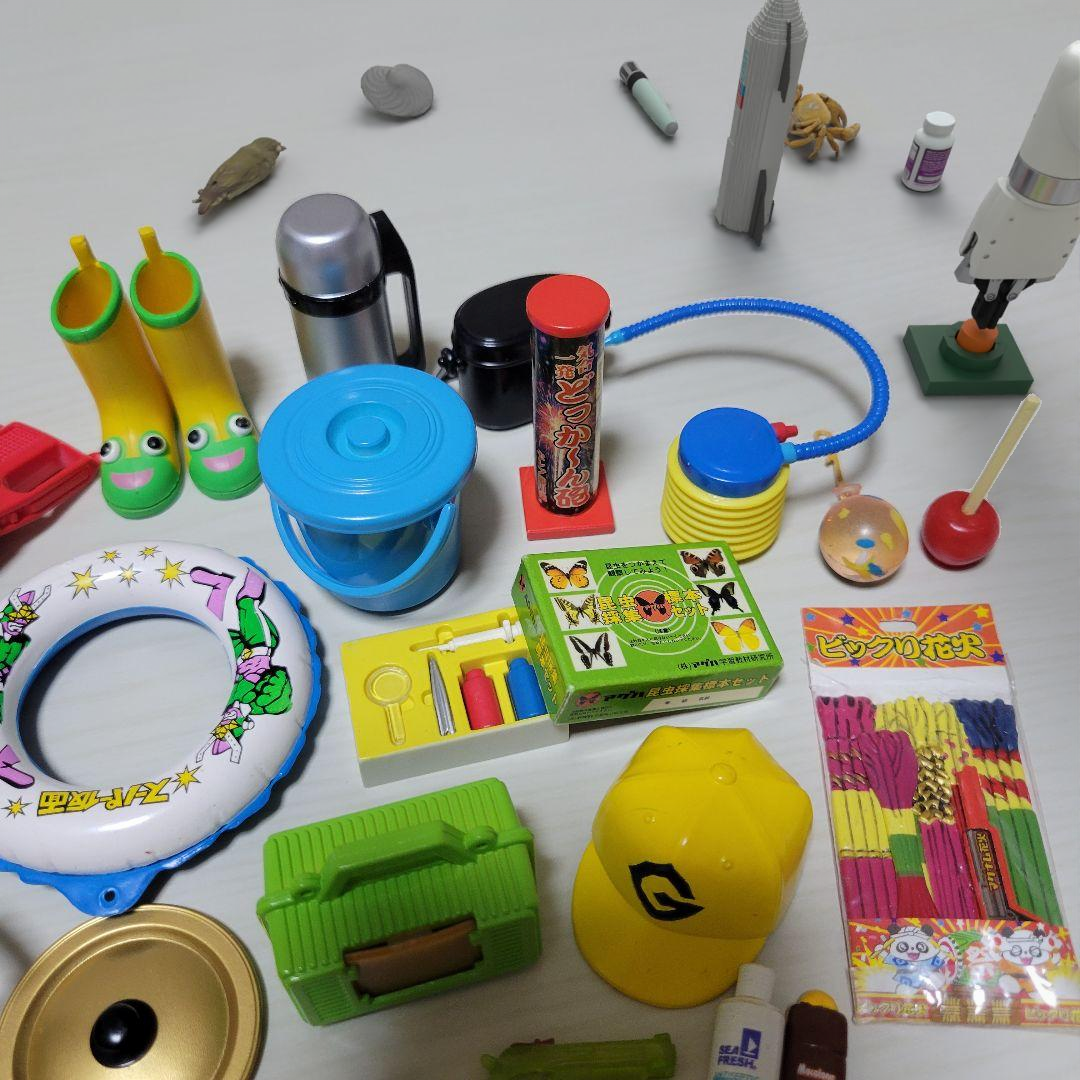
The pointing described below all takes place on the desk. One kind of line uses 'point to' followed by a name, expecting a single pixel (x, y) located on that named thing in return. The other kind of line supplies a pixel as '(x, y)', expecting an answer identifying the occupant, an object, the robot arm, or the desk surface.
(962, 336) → the press button
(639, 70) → the flashlight
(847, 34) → the desk surface
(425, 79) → the seashell
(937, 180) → the pill bottle
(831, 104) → the crab model
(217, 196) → the decorative bird model
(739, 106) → the rocket model
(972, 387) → the button box
